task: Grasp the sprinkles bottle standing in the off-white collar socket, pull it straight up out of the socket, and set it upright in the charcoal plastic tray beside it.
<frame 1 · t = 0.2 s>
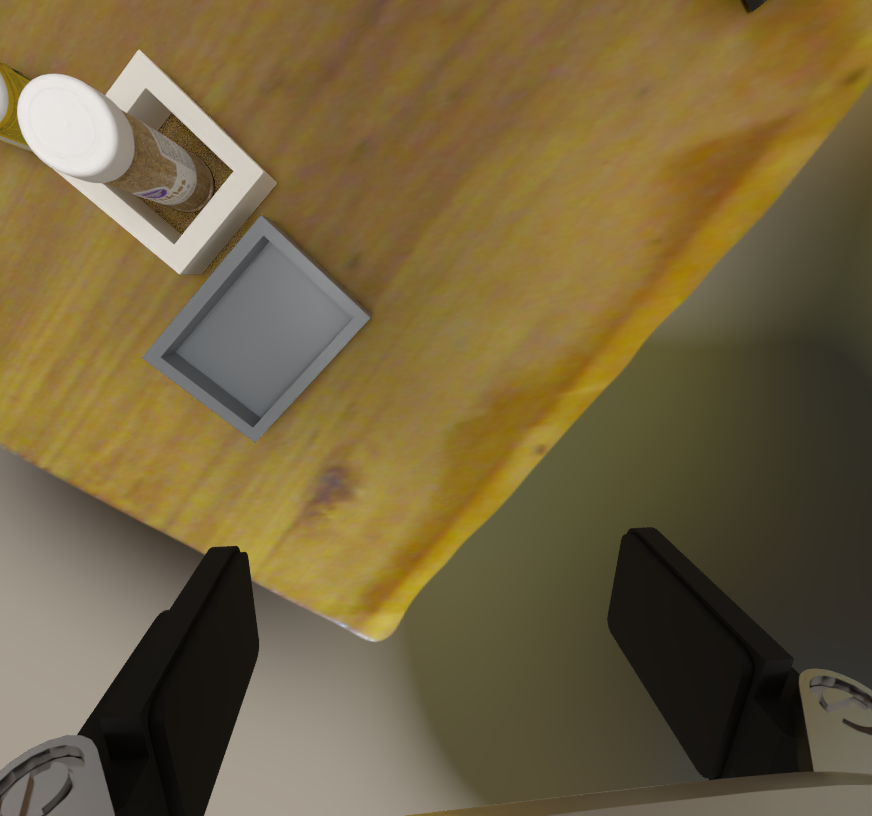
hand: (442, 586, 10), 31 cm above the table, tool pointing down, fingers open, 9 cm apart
sprinkles bottle: (187, 182, 34), resting in collar socket
charcoal tray: (269, 332, 38), on the table
supplement bottle: (42, 121, 32), on the table
collar socket: (186, 181, 34), on the table
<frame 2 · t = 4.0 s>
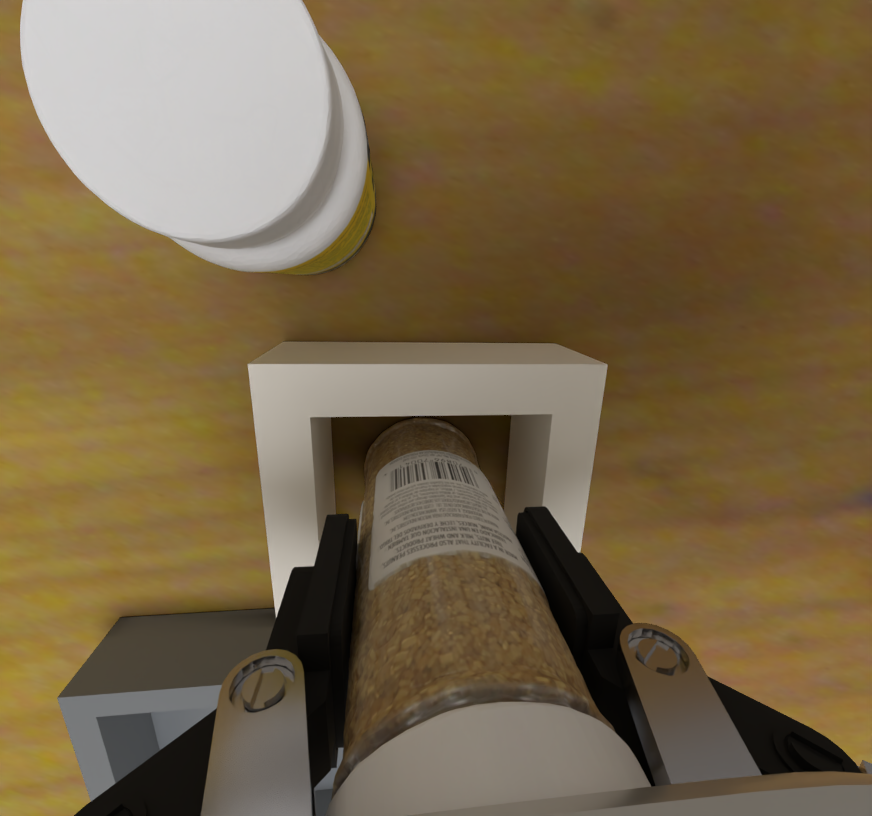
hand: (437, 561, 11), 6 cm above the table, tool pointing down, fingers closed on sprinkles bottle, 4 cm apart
sprinkles bottle: (421, 464, 17), resting in collar socket, touching gripper
charcoal tray: (313, 700, 20), on the table
supplement bottle: (303, 198, 14), on the table
collar socket: (422, 466, 17), on the table
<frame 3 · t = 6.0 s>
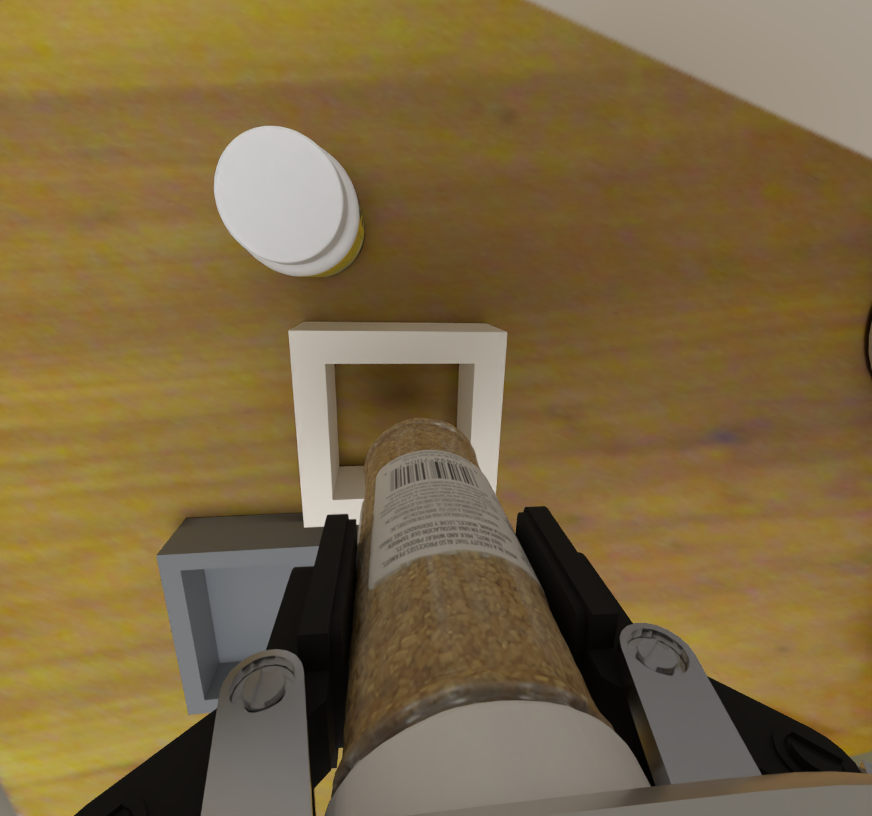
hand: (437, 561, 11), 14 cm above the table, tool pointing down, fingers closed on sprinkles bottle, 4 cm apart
sprinkles bottle: (421, 464, 17), point 8 cm above the table, touching gripper
charcoal tray: (321, 586, 27), on the table
supplement bottle: (317, 228, 21), on the table
collar socket: (398, 409, 25), on the table
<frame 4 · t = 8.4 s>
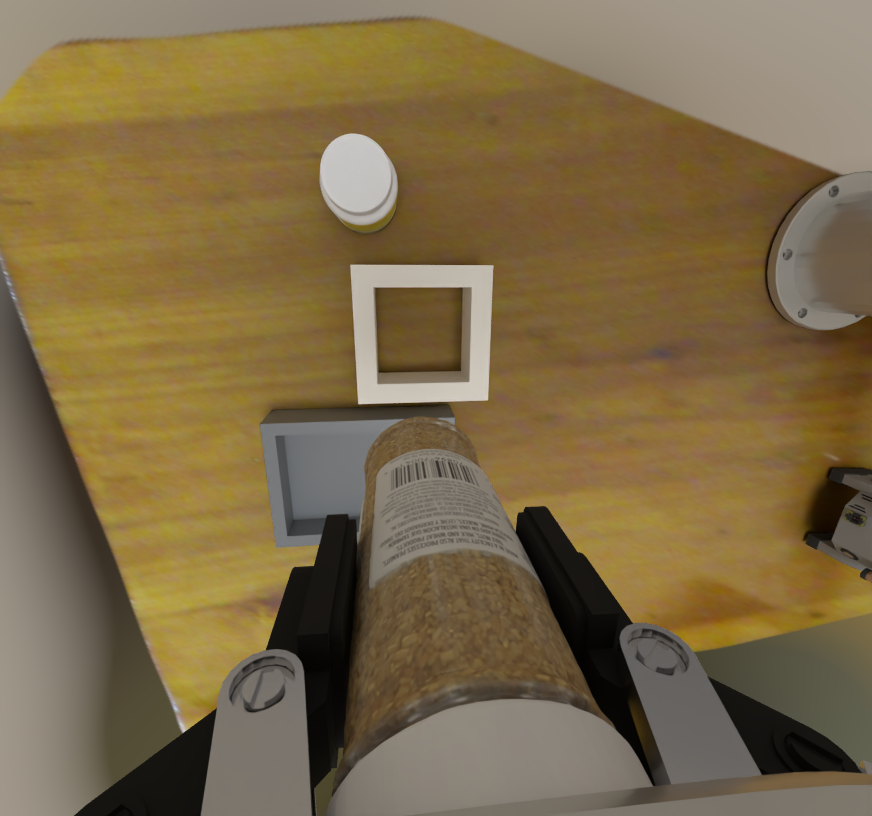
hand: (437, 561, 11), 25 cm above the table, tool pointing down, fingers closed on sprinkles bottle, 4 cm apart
sprinkles bottle: (422, 463, 17), point 19 cm above the table, touching gripper
charcoal tray: (365, 465, 38), on the table
supplement bottle: (364, 200, 32), on the table
collar socket: (419, 330, 35), on the table
figurine: (847, 503, 45), on the table
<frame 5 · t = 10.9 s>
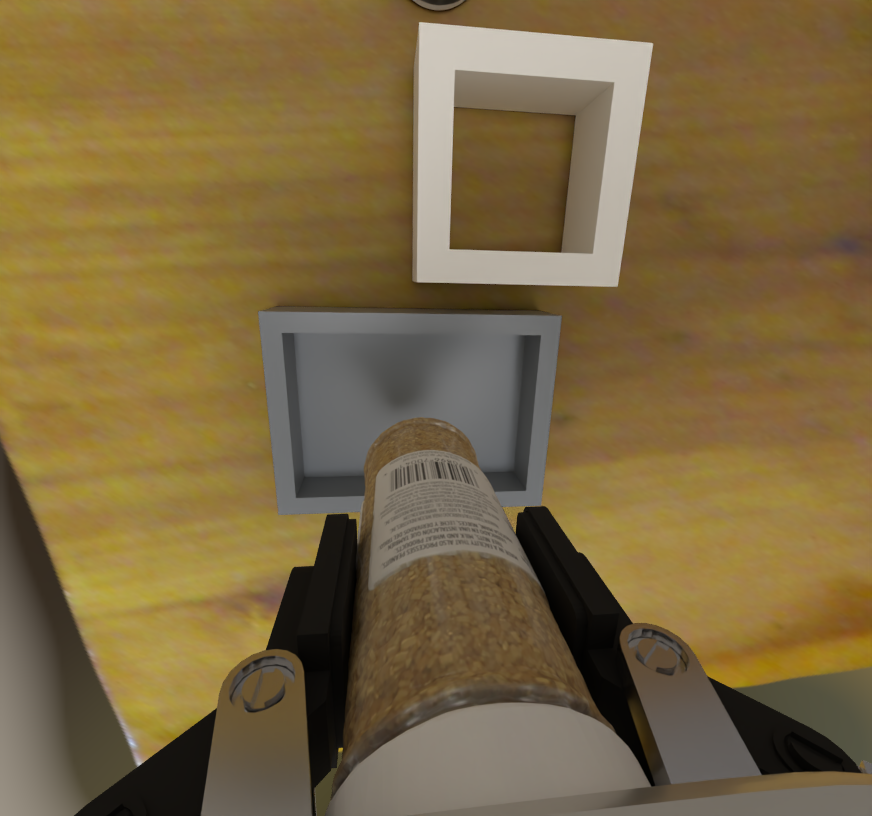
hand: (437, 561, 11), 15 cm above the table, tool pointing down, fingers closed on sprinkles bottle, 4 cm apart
sprinkles bottle: (421, 464, 17), point 9 cm above the table, touching gripper
charcoal tray: (411, 400, 26), on the table
collar socket: (505, 186, 23), on the table
when the fingers open (8 cm above the table, at t = 13.1 s): sprinkles bottle stays where it is, resting on charcoal tray.
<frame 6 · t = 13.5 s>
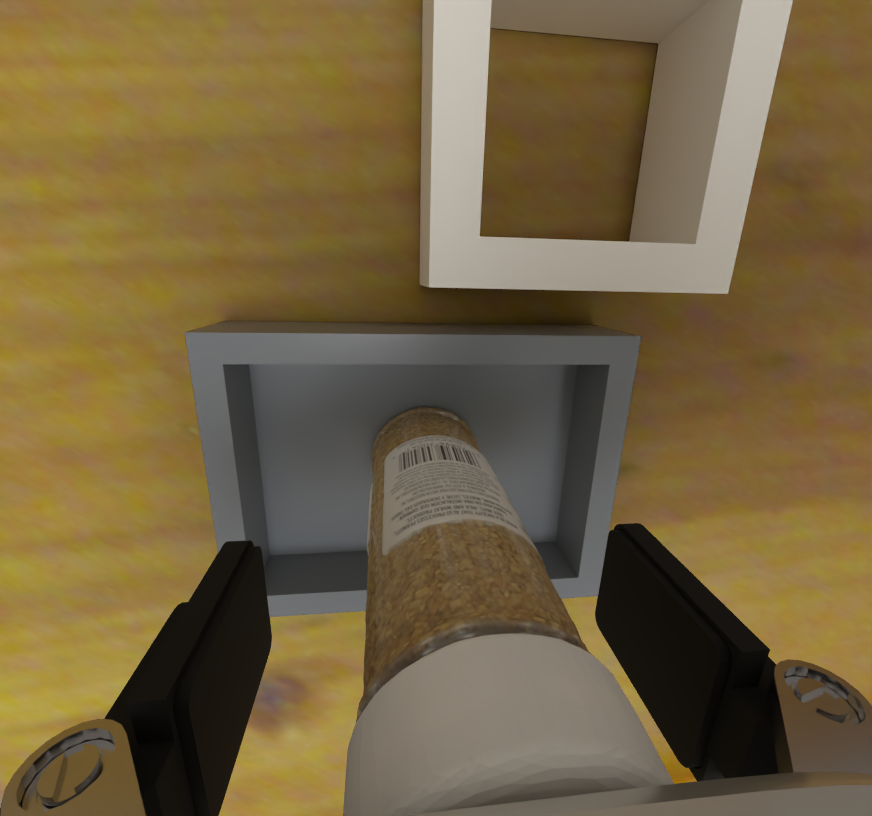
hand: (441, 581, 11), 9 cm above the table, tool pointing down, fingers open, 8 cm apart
sprinkles bottle: (425, 452, 18), point 1 cm above the table, touching charcoal tray
charcoal tray: (417, 448, 19), on the table
collar socket: (554, 148, 16), on the table
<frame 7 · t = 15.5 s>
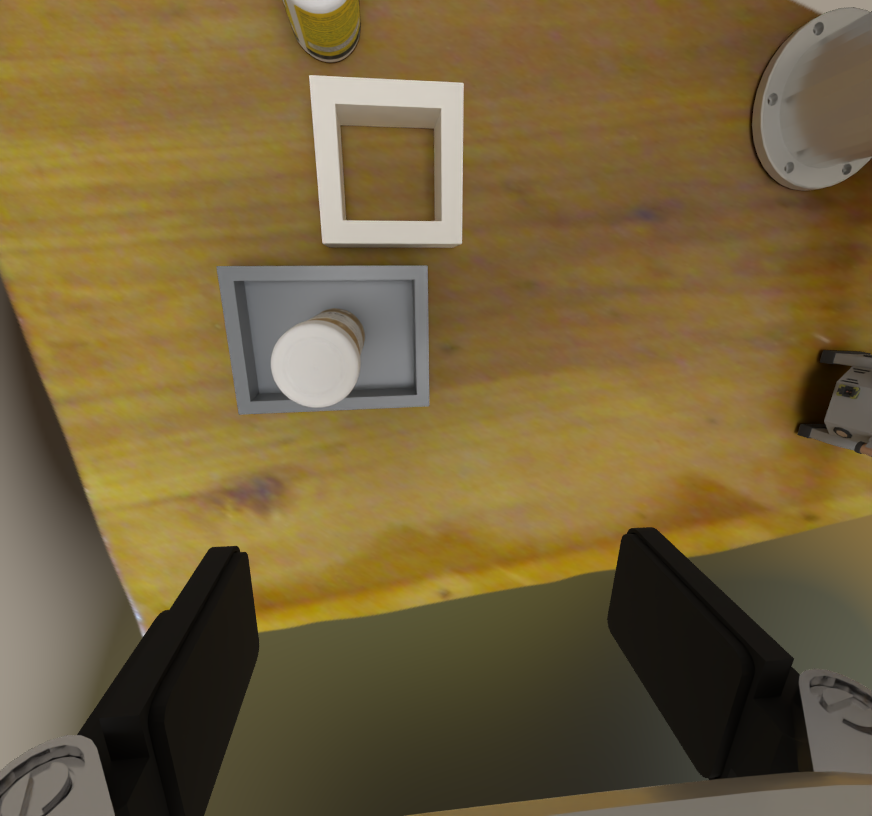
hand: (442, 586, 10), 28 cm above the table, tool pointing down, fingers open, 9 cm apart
sprinkles bottle: (338, 335, 35), point 1 cm above the table, touching charcoal tray
charcoal tray: (335, 335, 36), on the table
supplement bottle: (326, 25, 30), on the table
collar socket: (389, 178, 33), on the table
figurine: (839, 391, 44), on the table
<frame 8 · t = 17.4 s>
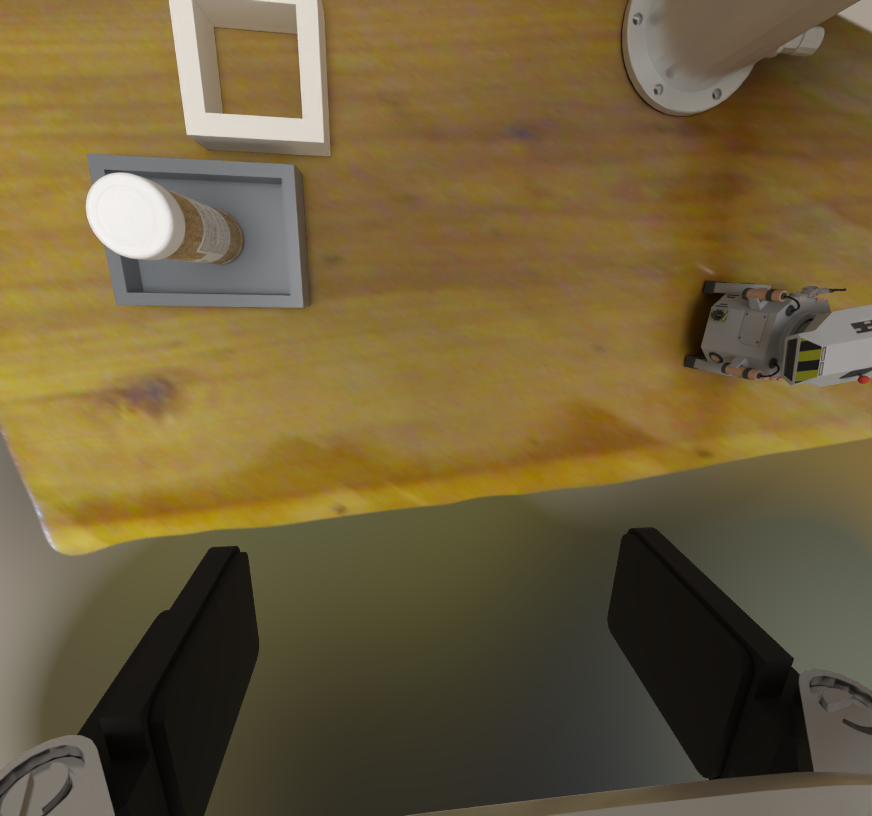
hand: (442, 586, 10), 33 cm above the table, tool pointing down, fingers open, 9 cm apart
sprinkles bottle: (219, 237, 36), point 1 cm above the table, touching charcoal tray
charcoal tray: (219, 239, 37), on the table
collar socket: (264, 83, 34), on the table
figurine: (727, 326, 45), on the table
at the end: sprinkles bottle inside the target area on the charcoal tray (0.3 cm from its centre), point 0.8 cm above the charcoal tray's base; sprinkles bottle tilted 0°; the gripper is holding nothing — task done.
